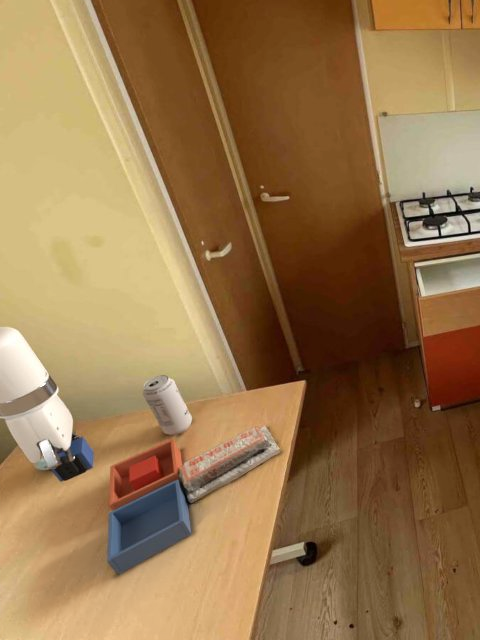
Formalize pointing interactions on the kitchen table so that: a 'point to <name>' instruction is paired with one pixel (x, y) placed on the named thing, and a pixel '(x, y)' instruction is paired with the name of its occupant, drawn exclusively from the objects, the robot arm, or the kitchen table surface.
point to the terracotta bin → (126, 493)
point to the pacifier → (41, 465)
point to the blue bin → (147, 526)
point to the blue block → (79, 454)
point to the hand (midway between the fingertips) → (76, 464)
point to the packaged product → (226, 462)
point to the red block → (145, 472)
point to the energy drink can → (167, 404)
